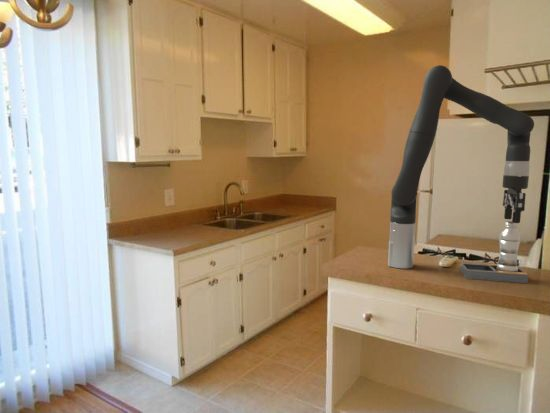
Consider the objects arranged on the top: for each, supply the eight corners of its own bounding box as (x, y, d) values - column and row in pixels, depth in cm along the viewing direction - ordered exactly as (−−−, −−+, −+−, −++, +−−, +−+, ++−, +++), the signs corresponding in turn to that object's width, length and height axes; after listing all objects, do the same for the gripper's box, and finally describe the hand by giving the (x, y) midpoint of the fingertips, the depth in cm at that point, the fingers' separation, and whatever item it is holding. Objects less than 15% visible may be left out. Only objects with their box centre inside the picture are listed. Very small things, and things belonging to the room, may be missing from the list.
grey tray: (466, 278, 138) (467, 269, 138) (460, 270, 148) (460, 262, 148) (527, 283, 134) (528, 273, 133) (516, 274, 144) (517, 265, 143)
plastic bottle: (520, 281, 136) (526, 224, 134) (499, 279, 138) (504, 223, 135) (513, 275, 142) (518, 221, 140) (492, 274, 144) (497, 220, 141)
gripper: (497, 173, 143) (493, 217, 145) (510, 175, 129) (506, 223, 131) (520, 174, 141) (516, 218, 143) (536, 175, 128) (531, 225, 130)
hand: (511, 221), depth 137 cm, fingers open, 8 cm apart
